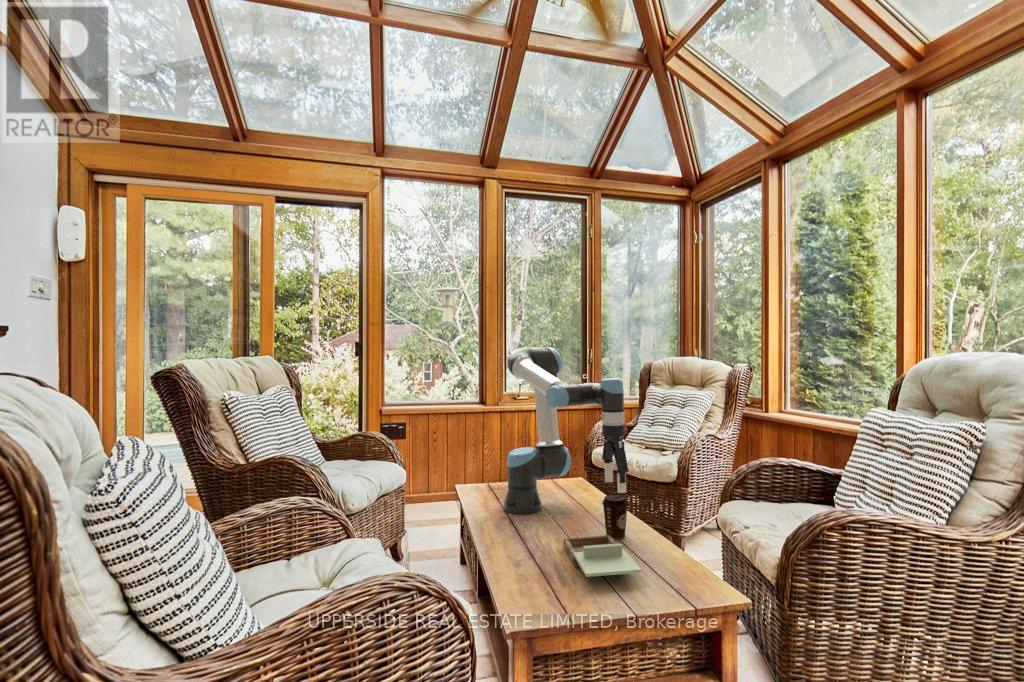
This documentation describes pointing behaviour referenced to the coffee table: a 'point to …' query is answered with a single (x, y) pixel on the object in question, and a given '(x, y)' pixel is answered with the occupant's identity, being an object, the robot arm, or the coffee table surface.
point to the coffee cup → (615, 515)
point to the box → (578, 543)
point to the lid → (605, 560)
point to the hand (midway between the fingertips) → (615, 487)
